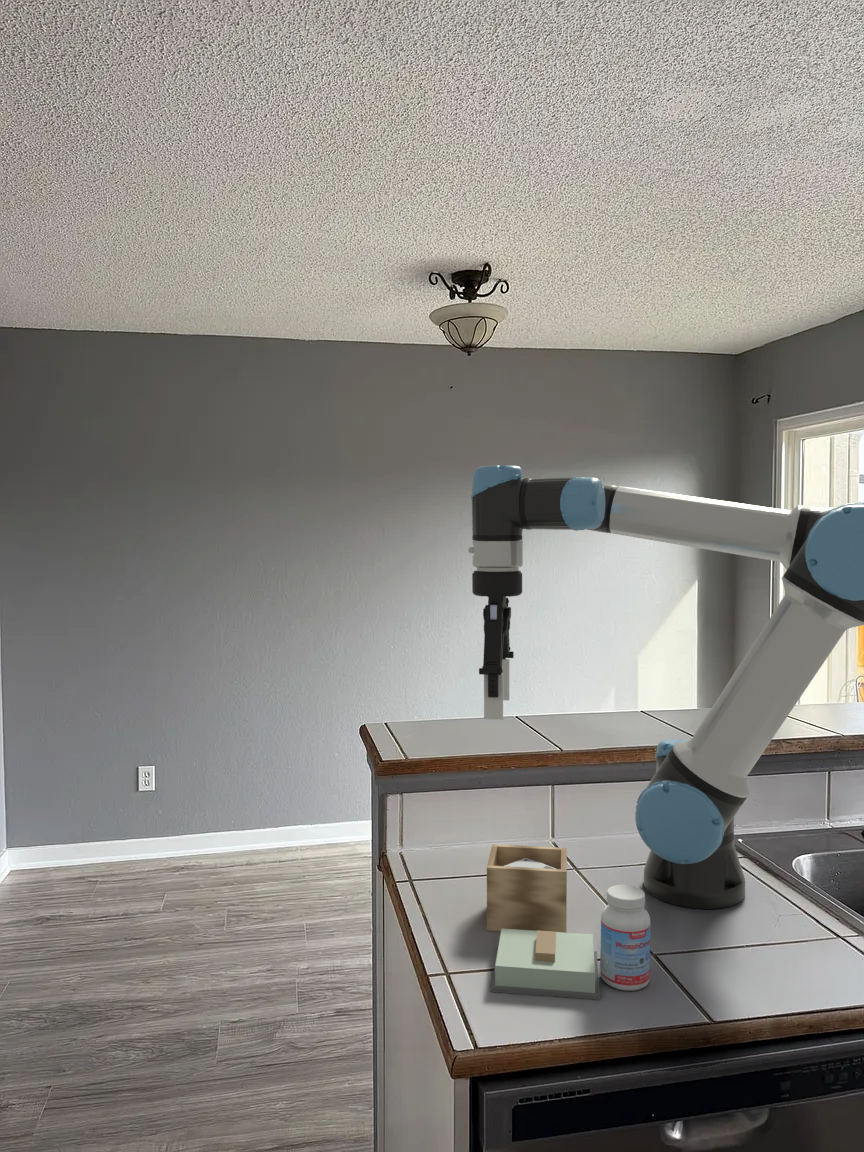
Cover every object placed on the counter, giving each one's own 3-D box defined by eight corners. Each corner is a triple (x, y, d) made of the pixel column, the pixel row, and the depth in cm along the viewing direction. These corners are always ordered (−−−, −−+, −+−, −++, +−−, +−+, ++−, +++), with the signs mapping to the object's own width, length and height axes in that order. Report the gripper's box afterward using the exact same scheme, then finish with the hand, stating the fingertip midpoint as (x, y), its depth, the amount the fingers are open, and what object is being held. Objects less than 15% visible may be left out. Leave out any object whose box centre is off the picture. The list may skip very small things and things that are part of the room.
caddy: (566, 907, 131) (566, 847, 131) (566, 935, 122) (566, 871, 122) (492, 902, 133) (492, 844, 132) (486, 930, 124) (486, 867, 123)
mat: (596, 955, 117) (596, 951, 117) (599, 999, 106) (599, 995, 106) (498, 948, 119) (498, 944, 119) (491, 991, 108) (491, 987, 108)
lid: (592, 952, 116) (592, 927, 116) (594, 993, 107) (595, 964, 106) (501, 946, 118) (501, 921, 118) (495, 985, 108) (495, 957, 108)
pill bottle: (619, 997, 107) (619, 906, 106) (590, 973, 112) (591, 886, 111) (660, 986, 109) (661, 897, 108) (630, 963, 115) (631, 878, 114)
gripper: (480, 564, 146) (480, 692, 147) (462, 574, 121) (463, 727, 123) (526, 565, 145) (526, 693, 146) (517, 574, 120) (517, 728, 122)
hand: (497, 709), depth 134 cm, fingers open, 13 cm apart
